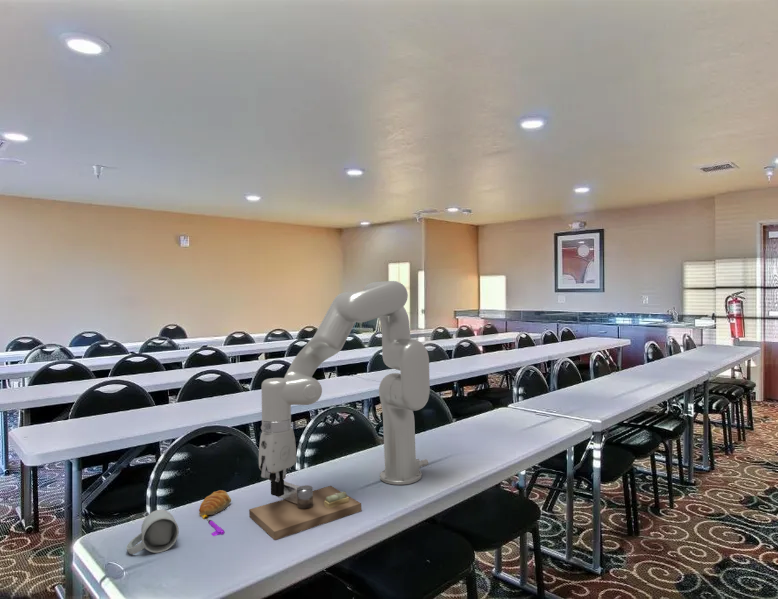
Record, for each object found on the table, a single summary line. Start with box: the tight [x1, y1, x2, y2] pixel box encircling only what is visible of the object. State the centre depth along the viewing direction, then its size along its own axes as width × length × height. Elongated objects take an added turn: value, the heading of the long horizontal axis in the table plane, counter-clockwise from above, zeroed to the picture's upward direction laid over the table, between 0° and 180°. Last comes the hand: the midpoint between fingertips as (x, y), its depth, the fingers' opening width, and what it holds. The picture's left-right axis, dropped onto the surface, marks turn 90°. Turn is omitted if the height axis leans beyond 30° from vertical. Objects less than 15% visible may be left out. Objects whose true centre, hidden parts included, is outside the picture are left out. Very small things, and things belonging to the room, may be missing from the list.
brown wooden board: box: [248, 485, 362, 541], centre depth 133 cm, size 24×16×5 cm, turn 126°
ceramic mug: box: [126, 509, 180, 555], centre depth 119 cm, size 11×8×8 cm
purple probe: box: [198, 512, 225, 537], centre depth 130 cm, size 3×1×16 cm
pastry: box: [198, 489, 232, 516], centre depth 138 cm, size 9×7×4 cm
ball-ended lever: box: [276, 480, 314, 509], centre depth 136 cm, size 14×4×4 cm, turn 49°
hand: (277, 494), depth 136 cm, fingers closed
